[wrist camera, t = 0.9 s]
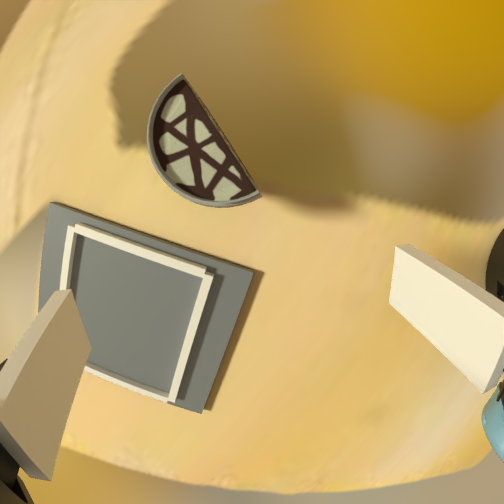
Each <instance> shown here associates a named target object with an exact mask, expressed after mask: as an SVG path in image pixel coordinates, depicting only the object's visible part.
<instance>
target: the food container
mask: <svg viewBox="0 0 504 504" xmlns="http://www.w3.org/2000/svg"><path fill="white" fill-rule="evenodd" d="M147 144H148V150H149V154H150V157H151V160H152V163H153V165H154V167H155V169H156V171H157V173H158V174H159V175H160V177H161V178H162V179H163V181H164V182H165V183H166V184H167V185H168V186H169V187H170V188H171V189H172V190H174V191H175V192H176V193H178V194H179V195H181V196H182V197H183V198H185V199H187V200H190V201H192V202H194V203H197V204H200V205H204V206H209V207H216V208H223V207H234V206H240V205H243V204H247V203H250V202H252V201H254V200H256V199H258V198H260V197H262V196H261V194H260V193H259V191H258V189H257V187H256V185H255V183H254V181H253V179H252V177H251V176H250V174H249V173H248V171H247V169H246V168H245V166H244V165H243V163H242V161H241V160H240V158H239V157H238V155H237V154H236V152H235V150H234V149H233V147H232V146H231V144H230V143H229V141H228V140H227V138H226V137H225V135H224V133H223V132H222V131H221V129H220V127H219V126H218V124H217V123H216V121H215V119H214V118H213V116H212V115H211V114H210V112H209V110H208V109H207V107H206V106H205V104H204V103H203V102H202V100H201V99H200V97H199V96H198V95H197V93H196V92H195V91H194V89H193V88H192V86H191V85H190V84H189V82H188V81H187V80H186V78H185V77H184V75H183V74H182V73H181V74H180V75H178V76H177V77H176V78H174V79H173V80H172V81H171V82H170V83H169V84H168V85H167V86H166V87H165V88H164V89H163V91H162V93H161V94H160V95H159V97H158V98H157V100H156V102H155V104H154V106H153V108H152V111H151V114H150V117H149V121H148V127H147Z"/></svg>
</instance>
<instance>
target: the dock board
mask: <svg viewBox="0 0 504 504" xmlns="http://www.w3.org/2000/svg"><path fill="white" fill-rule="evenodd" d="M253 274H254V270H252V269H249V268H246V267H243V266H240V265H237V264H234V263H230V262H227V261H224V260H221V259H218V258H215V257H212V256H209V255H206V254H203V253H200V252H198V251H195V250H192V249H189V248H186V247H183V246H180V245H177V244H174V243H171V242H168V241H165V240H162V239H159V238H156V237H153V236H150V235H147V234H145V233H142V232H139V231H136V230H133V229H130V228H127V227H124V226H121V225H118V224H116V223H113V222H110V221H107V220H104V219H101V218H98V217H96V216H93V215H90V214H87V213H84V212H81V211H79V210H76V209H73V208H70V207H67V206H65V205H62V204H59V203H56V202H50V203H49V208H48V214H47V221H46V227H45V234H44V242H43V251H42V260H41V271H40V286H39V308H38V313H39V312H40V311H41V309H42V308H43V306H44V305H45V304H46V302H47V301H48V300H49V298H50V297H51V296H52V294H53V293H54V292H55V291H59V290H68V289H72V293H73V296H74V299H75V302H76V305H77V308H78V311H79V314H80V317H81V320H82V323H83V326H84V329H85V332H86V334H87V337H88V340H89V342H90V345H91V351H90V354H89V356H88V359H87V362H86V365H85V367H84V371H86V372H88V373H90V374H93V375H95V376H97V377H100V378H102V379H104V380H107V381H109V382H111V383H114V384H116V385H119V386H121V387H124V388H126V389H129V390H132V391H134V392H137V393H140V394H142V395H145V396H148V397H151V398H153V399H156V400H159V401H162V402H165V403H168V404H171V405H174V406H177V407H180V408H184V409H187V410H190V411H194V412H197V413H200V414H202V411H203V409H204V406H205V403H206V401H207V398H208V395H209V393H210V390H211V387H212V385H213V382H214V379H215V377H216V374H217V371H218V369H219V366H220V363H221V361H222V358H223V355H224V353H225V350H226V347H227V345H228V342H229V339H230V336H231V334H232V331H233V328H234V326H235V323H236V320H237V318H238V315H239V312H240V309H241V307H242V304H243V301H244V299H245V296H246V293H247V290H248V288H249V285H250V282H251V279H252V277H253Z"/></svg>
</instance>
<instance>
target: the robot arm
mask: <svg viewBox="0 0 504 504" xmlns="http://www.w3.org/2000/svg"><path fill="white" fill-rule="evenodd" d="M389 304H390V305H391V306H393V307H394V308H395V309H396V310H397V311H398V312H399V313H400V314H401V315H402V316H403V317H405V318H406V319H407V320H408V321H409V322H410V323H411V324H412V325H413V326H414V327H415V328H416V329H417V330H418V331H419V332H421V333H422V334H423V335H424V336H425V337H426V338H427V339H428V340H429V341H430V342H431V343H432V344H433V345H434V346H435V347H436V348H437V349H438V350H439V351H440V352H441V353H442V354H443V355H445V356H446V357H447V358H448V359H449V360H450V361H451V362H452V363H453V364H454V365H455V366H456V367H457V368H458V369H459V370H460V371H461V372H462V373H463V374H464V375H465V376H466V377H467V378H468V379H469V380H470V381H471V382H472V383H473V384H474V385H475V386H476V387H477V388H478V389H479V390H480V391H481V393H482V394H483V393H485V392H487V391H488V390H490V389H491V388H493V387H495V386H496V385H497V383H498V381H499V379H500V377H501V374H502V372H504V229H503V230H502V232H501V233H500V235H499V236H498V238H497V240H496V242H495V244H494V246H493V248H492V251H491V254H490V257H489V261H488V265H487V271H486V290H484V289H483V288H481V287H480V286H478V285H476V284H475V283H473V282H472V281H470V280H469V279H467V278H465V277H464V276H462V275H461V274H459V273H457V272H456V271H454V270H452V269H451V268H449V267H447V266H446V265H444V264H442V263H441V262H439V261H437V260H436V259H434V258H432V257H431V256H429V255H427V254H426V253H424V252H422V251H420V250H419V249H417V248H415V247H413V246H412V245H410V244H407V245H400V246H395V257H394V266H393V275H392V283H391V291H390V298H389ZM90 351H91V345H90V342H89V340H88V337H87V334H86V332H85V329H84V326H83V323H82V320H81V317H80V314H79V311H78V308H77V305H76V302H75V299H74V296H73V293H72V289H68V290H59V291H55V292H54V293H53V294H52V296H51V297H50V298H49V300H48V301H47V302H46V304H45V305H44V306H43V308H42V309H41V311H40V312H39V313H38V315H37V316H36V318H35V319H34V321H33V322H32V323H31V325H30V326H29V328H28V329H27V331H26V332H25V334H24V335H23V337H22V338H21V340H20V341H19V343H18V344H17V346H16V347H15V349H14V350H13V352H12V353H11V355H10V357H9V358H8V359H6V360H5V361H4V362H3V363H1V364H0V504H34V502H33V500H32V498H31V497H30V495H29V493H28V491H27V489H26V487H25V485H24V483H23V481H22V480H21V479H20V477H19V476H18V475H17V474H18V471H19V468H20V467H21V468H22V469H23V470H24V471H25V472H26V473H27V474H28V476H29V477H31V478H35V479H41V480H47V481H51V480H52V475H53V471H54V467H55V463H56V459H57V455H58V451H59V447H60V444H61V440H62V436H63V433H64V429H65V426H66V422H67V419H68V416H69V412H70V409H71V406H72V403H73V400H74V397H75V394H76V391H77V388H78V385H79V382H80V379H81V376H82V373H83V370H84V367H85V365H86V362H87V359H88V356H89V354H90ZM482 424H483V427H484V431H485V434H486V436H487V438H488V440H489V442H490V444H491V446H492V448H493V449H494V451H495V452H496V454H497V455H498V456H499V458H500V459H501V460H502V461H503V462H504V380H503V381H502V382H500V383H499V384H498V386H497V389H496V391H495V392H494V393H493V395H492V396H491V398H490V399H489V400H488V402H487V403H486V405H485V406H484V408H483V411H482Z"/></svg>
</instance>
